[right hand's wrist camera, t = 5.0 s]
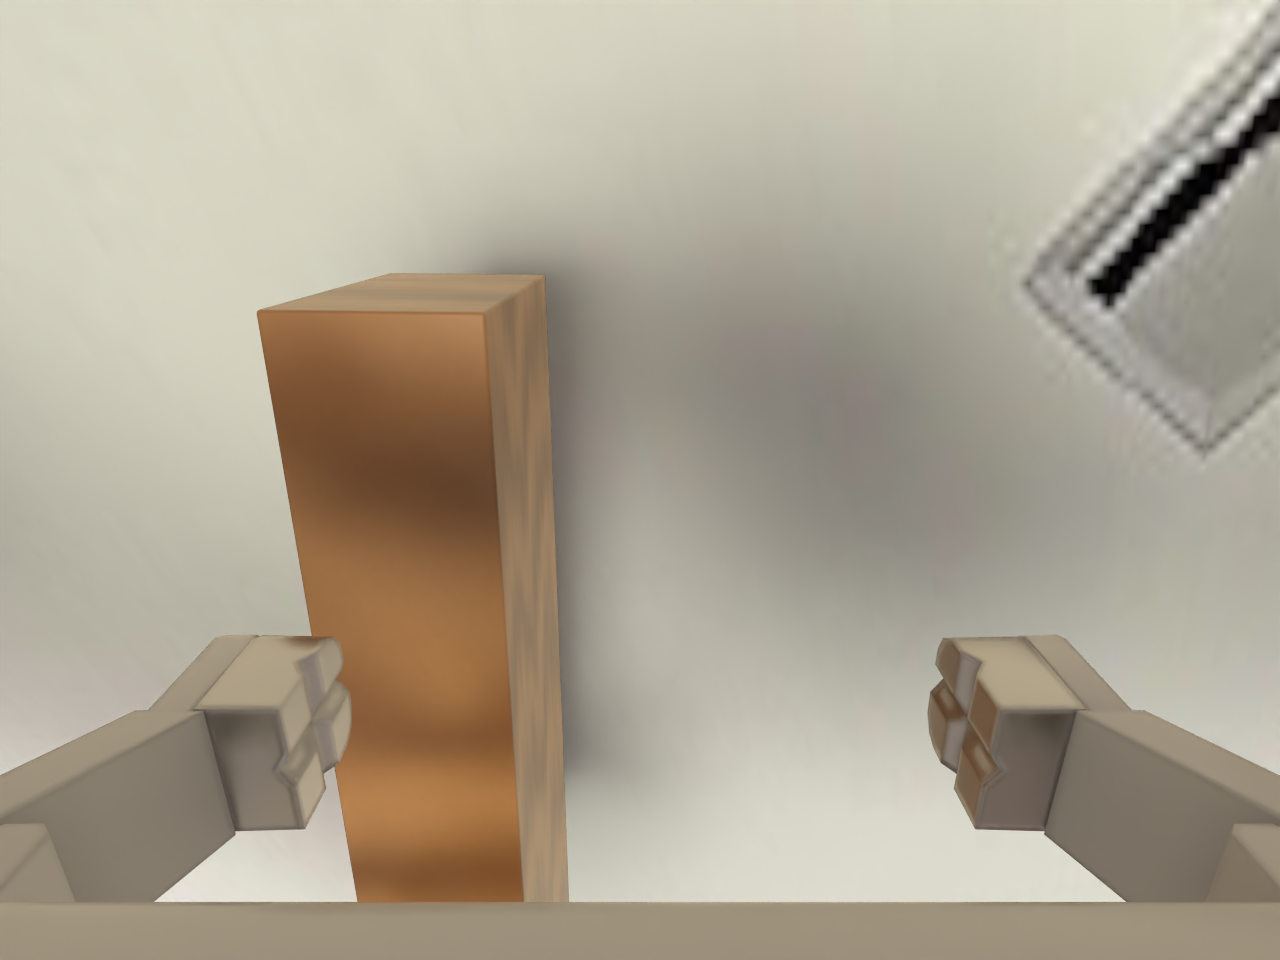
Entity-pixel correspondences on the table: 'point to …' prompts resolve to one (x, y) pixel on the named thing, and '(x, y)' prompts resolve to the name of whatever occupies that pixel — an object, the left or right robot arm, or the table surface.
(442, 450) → the bar
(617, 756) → the table surface
